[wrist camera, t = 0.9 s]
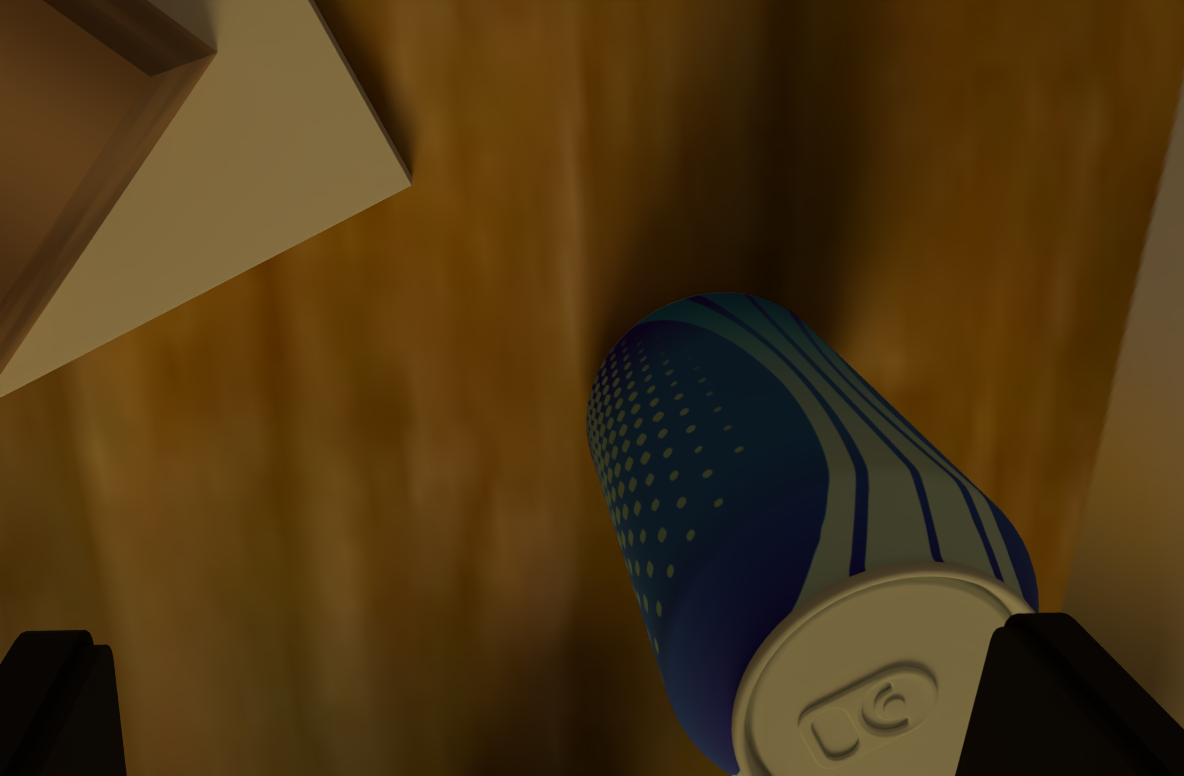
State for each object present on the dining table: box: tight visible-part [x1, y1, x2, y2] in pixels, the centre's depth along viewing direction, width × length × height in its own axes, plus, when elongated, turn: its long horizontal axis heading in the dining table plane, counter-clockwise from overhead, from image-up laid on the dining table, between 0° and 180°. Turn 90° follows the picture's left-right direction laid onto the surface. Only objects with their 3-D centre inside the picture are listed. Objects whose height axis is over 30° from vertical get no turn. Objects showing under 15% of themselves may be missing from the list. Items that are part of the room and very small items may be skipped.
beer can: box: [586, 292, 1039, 776], centre depth 27 cm, size 8×8×16 cm
